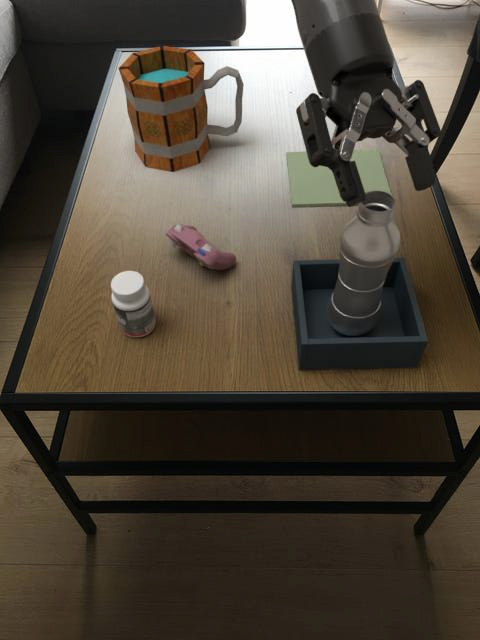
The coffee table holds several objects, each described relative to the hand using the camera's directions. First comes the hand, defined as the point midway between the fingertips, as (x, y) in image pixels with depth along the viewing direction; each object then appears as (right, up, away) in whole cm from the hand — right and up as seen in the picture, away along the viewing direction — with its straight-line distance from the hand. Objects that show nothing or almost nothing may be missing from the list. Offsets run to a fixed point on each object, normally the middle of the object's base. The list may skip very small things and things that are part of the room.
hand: (393, 195), depth 51 cm
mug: (-24, +19, +45) cm, 54 cm away
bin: (0, -13, +19) cm, 23 cm away
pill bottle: (-28, -13, +20) cm, 37 cm away
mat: (+2, +12, +38) cm, 40 cm away
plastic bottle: (0, -12, +19) cm, 23 cm away
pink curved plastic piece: (-20, -3, +28) cm, 34 cm away
